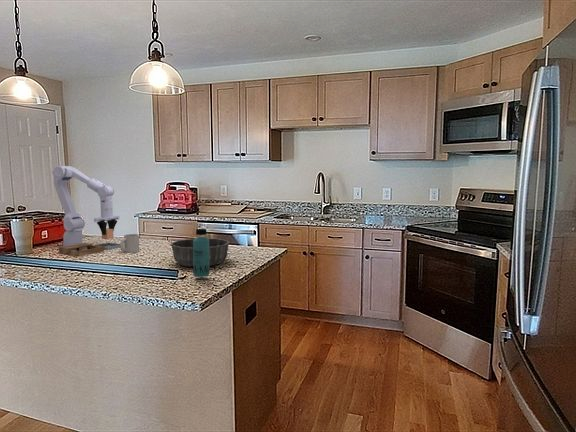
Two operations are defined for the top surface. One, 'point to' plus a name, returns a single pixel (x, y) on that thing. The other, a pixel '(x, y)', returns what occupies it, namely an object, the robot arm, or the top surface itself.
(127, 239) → the cup
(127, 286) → the top surface
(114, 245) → the dump tray
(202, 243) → the beverage bottle
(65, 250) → the wooden pallet
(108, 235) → the stone block
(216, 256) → the bundt pan
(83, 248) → the flat stone
